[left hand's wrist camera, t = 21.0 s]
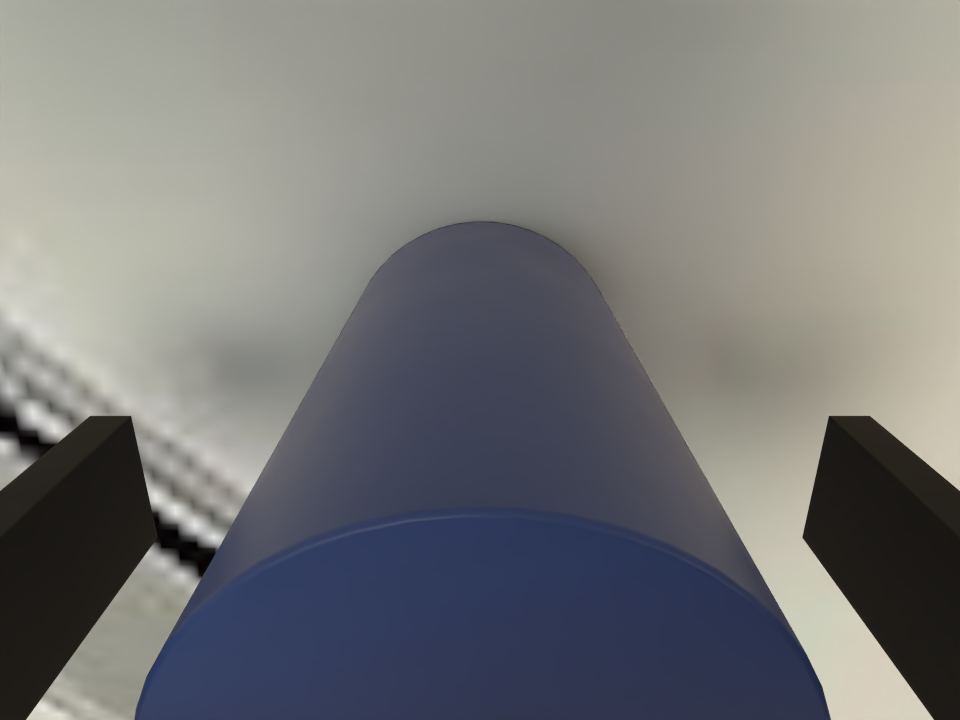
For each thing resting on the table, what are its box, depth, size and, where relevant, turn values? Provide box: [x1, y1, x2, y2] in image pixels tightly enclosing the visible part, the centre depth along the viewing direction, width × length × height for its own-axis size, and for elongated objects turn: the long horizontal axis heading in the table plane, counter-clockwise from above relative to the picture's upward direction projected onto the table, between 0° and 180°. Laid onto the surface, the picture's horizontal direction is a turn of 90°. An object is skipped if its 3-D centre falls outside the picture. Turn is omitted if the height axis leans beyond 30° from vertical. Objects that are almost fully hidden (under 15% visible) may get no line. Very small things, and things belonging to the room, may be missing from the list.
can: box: [135, 222, 831, 720], centre depth 13 cm, size 7×7×13 cm
